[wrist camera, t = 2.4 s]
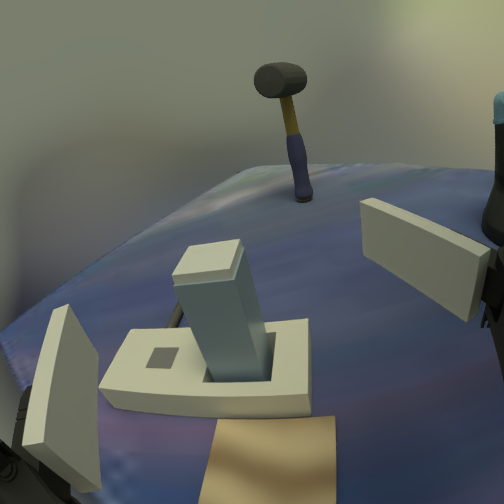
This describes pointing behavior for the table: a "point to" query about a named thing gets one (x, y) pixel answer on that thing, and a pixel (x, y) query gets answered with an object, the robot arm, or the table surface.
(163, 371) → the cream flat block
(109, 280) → the table surface
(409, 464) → the table surface
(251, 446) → the coaster
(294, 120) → the rubber mallet
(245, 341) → the pale grey tall block
